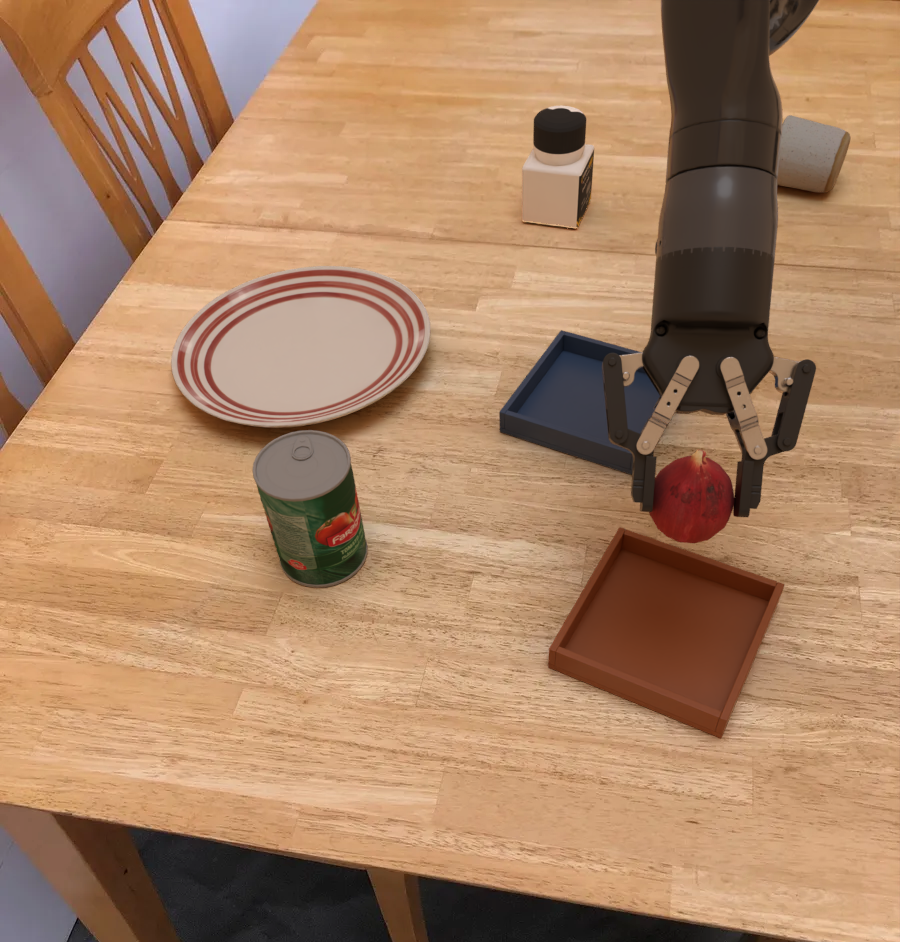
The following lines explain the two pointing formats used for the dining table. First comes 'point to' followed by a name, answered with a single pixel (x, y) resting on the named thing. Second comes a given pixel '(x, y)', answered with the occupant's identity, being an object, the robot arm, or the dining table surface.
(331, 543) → the canned tomato
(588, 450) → the blue tray
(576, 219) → the medicine bottle
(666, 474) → the onion
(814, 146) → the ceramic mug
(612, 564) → the copper tray
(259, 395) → the dinner plate
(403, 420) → the dining table surface
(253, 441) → the dining table surface
